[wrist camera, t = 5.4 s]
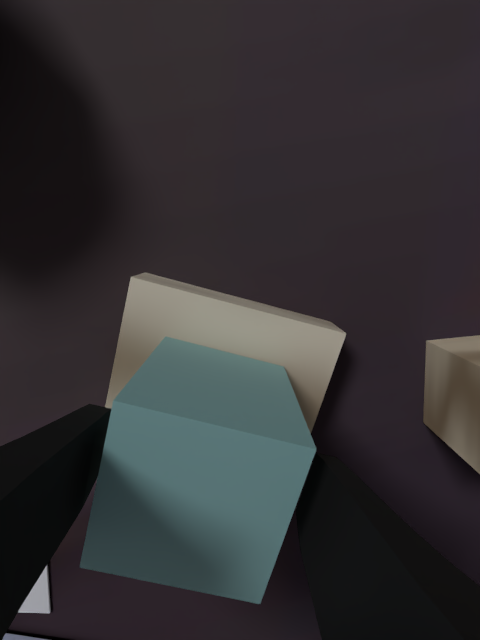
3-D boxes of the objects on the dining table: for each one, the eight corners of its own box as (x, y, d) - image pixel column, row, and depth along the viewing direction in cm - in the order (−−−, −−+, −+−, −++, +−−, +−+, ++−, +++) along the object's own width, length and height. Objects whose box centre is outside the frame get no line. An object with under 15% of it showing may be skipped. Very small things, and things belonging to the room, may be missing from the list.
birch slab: (275, 470, 16) (283, 510, 13) (114, 435, 15) (92, 471, 13) (326, 318, 14) (346, 333, 12) (148, 271, 14) (130, 276, 11)
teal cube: (251, 468, 13) (260, 604, 8) (140, 443, 13) (79, 567, 8) (284, 366, 12) (316, 449, 7) (165, 336, 12) (113, 400, 7)
